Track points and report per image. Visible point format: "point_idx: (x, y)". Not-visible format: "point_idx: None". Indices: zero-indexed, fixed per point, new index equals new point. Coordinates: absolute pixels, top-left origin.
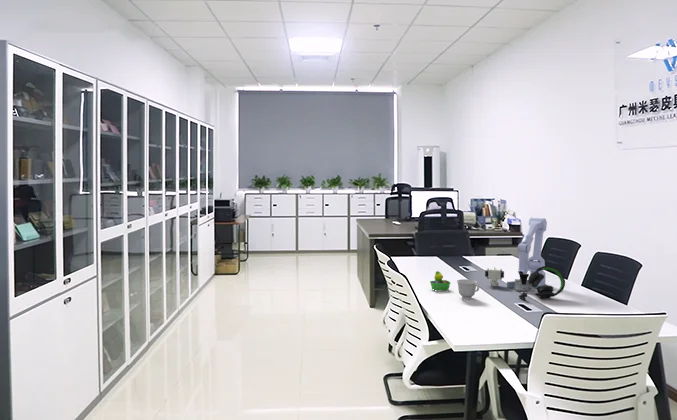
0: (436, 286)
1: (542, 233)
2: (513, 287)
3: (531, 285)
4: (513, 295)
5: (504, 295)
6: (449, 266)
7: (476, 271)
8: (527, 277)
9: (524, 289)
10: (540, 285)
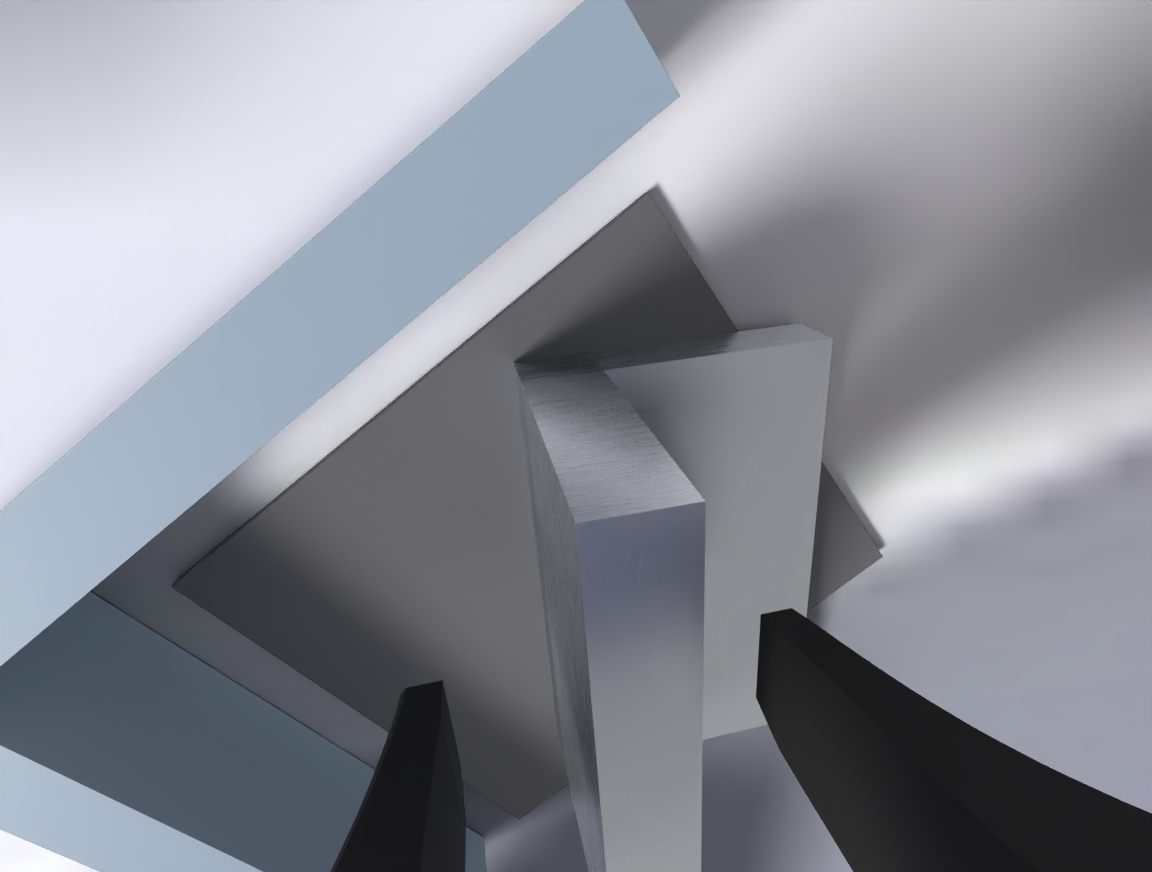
0: None
1: None
2: (465, 766)
3: (628, 412)
4: (1120, 657)
5: (1108, 762)
6: None
7: None
8: (1134, 809)
9: (808, 545)
10: (626, 20)
